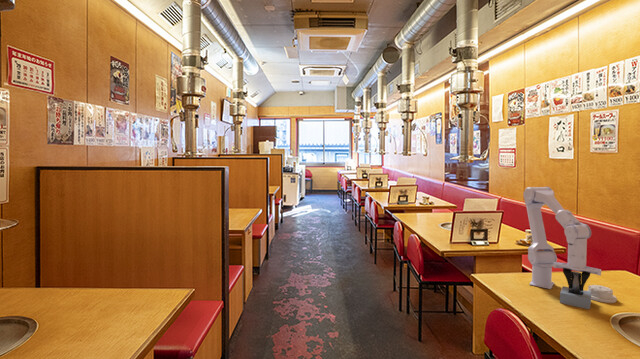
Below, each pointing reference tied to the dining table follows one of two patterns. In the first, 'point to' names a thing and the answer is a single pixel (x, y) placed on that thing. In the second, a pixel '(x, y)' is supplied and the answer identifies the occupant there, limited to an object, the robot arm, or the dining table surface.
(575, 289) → the steel pin
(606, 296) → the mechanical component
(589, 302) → the block
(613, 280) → the dining table surface
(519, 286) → the dining table surface
